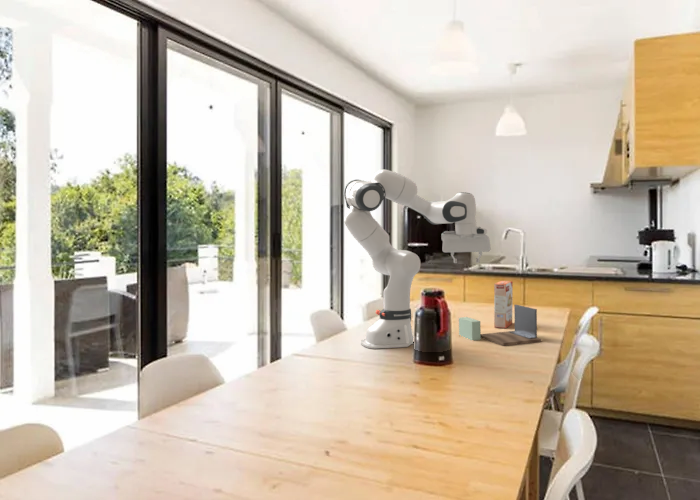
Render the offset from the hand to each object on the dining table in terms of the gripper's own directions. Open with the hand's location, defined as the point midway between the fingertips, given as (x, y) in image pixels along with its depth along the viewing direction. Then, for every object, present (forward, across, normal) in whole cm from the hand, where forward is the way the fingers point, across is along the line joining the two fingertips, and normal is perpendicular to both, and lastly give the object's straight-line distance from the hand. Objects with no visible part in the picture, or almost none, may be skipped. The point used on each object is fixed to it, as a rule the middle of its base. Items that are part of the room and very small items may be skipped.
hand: (466, 262), depth 224 cm
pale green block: (+32, +1, -1) cm, 33 cm away
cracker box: (+33, +17, +27) cm, 46 cm away
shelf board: (+32, +17, -3) cm, 37 cm away
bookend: (+31, +22, 0) cm, 39 cm away
